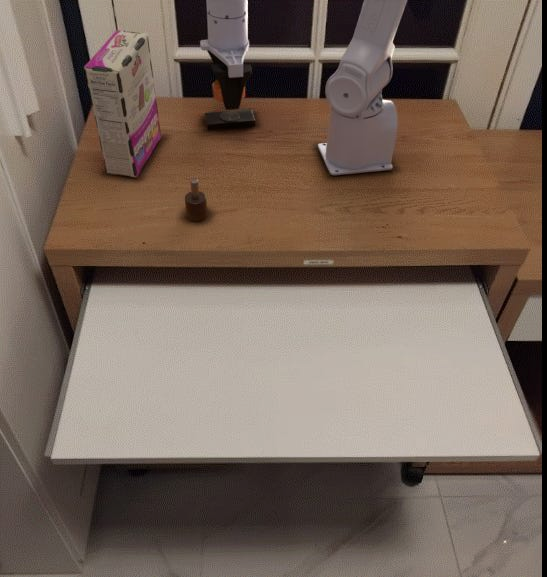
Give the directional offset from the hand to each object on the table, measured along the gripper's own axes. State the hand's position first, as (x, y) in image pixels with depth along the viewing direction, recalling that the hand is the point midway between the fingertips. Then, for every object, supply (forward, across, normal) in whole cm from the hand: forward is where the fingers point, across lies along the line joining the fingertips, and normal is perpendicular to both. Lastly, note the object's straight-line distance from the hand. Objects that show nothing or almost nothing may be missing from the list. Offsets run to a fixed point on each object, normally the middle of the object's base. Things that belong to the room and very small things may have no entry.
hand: (229, 99), depth 99 cm
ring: (-1, 0, 0) cm, 1 cm away
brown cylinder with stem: (+4, +23, -8) cm, 24 cm away
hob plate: (+4, 0, 0) cm, 4 cm away
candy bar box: (+4, +7, -16) cm, 18 cm away
